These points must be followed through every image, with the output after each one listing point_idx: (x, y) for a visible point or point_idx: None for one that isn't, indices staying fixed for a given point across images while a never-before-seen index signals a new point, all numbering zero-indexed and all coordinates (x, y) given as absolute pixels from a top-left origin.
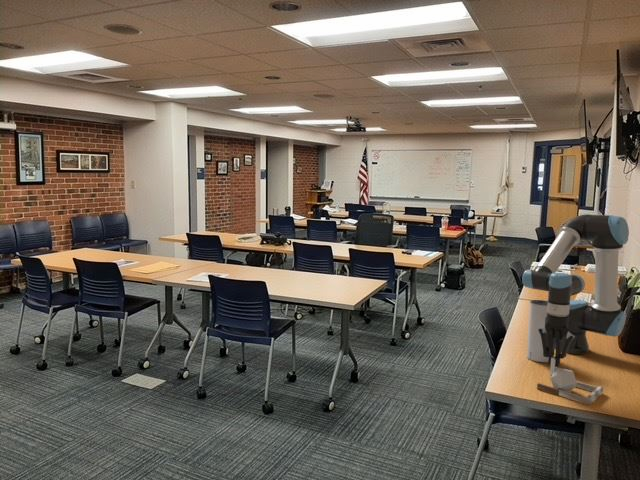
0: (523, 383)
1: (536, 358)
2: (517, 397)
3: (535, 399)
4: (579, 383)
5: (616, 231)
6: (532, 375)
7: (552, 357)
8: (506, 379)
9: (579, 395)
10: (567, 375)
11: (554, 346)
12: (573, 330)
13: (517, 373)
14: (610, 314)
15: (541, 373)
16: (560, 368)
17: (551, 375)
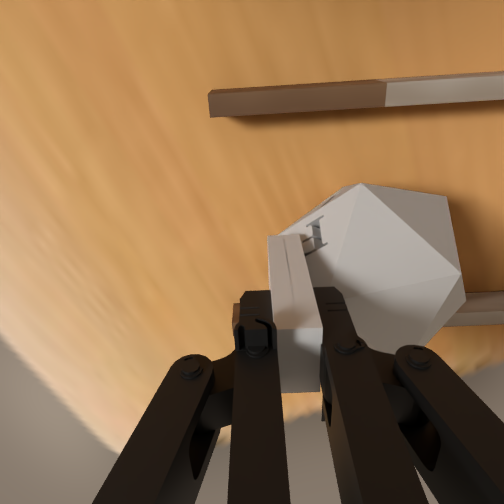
0: (146, 303)
1: None
2: (226, 439)
3: (288, 411)
4: (441, 102)
5: None
6: (89, 139)
7: (281, 375)
8: (58, 321)
9: (475, 313)
10: (425, 340)
11: (286, 462)
12: None
13: (12, 190)
14: None
15: (96, 30)
16: (353, 302)
17: (215, 115)
